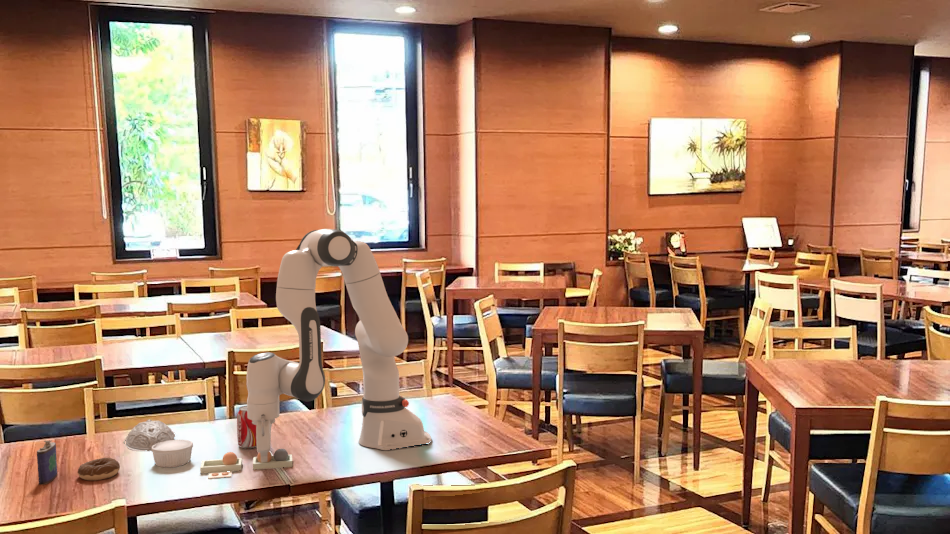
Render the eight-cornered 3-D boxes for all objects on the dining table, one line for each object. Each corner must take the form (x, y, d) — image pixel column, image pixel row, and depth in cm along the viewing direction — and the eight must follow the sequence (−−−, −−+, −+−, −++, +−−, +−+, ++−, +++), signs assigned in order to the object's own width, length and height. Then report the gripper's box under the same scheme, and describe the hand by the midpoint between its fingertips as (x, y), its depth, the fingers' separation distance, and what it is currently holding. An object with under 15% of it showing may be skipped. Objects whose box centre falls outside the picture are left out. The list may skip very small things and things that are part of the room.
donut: (117, 480, 222) (117, 466, 221) (74, 484, 219) (74, 469, 218) (122, 468, 232) (122, 454, 232) (81, 471, 229) (81, 457, 229)
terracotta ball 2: (271, 461, 236) (271, 447, 236) (271, 465, 232) (271, 451, 232) (257, 462, 235) (257, 448, 235) (257, 466, 231) (256, 452, 231)
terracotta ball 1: (237, 463, 234) (237, 449, 233) (237, 467, 230) (236, 454, 230) (223, 464, 233) (222, 450, 232) (222, 469, 229) (221, 455, 229)
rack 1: (242, 463, 235) (241, 457, 235) (241, 470, 229) (240, 464, 229) (202, 466, 233) (202, 460, 232) (200, 473, 227) (200, 467, 226)
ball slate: (288, 459, 237) (287, 446, 237) (288, 464, 233) (288, 450, 233) (273, 460, 236) (273, 447, 236) (273, 465, 232) (273, 451, 232)
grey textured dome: (174, 426, 273) (171, 406, 272) (179, 451, 250) (176, 430, 249) (124, 436, 267) (121, 416, 266) (124, 462, 244) (121, 441, 243)
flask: (49, 473, 227) (47, 435, 226) (60, 473, 227) (59, 435, 226) (36, 485, 217) (34, 445, 217) (48, 484, 218) (46, 445, 217)
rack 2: (292, 460, 238) (291, 454, 238) (292, 466, 232) (292, 461, 232) (253, 462, 236) (253, 457, 236) (252, 469, 230) (252, 463, 230)
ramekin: (151, 459, 239) (150, 441, 239) (191, 454, 244) (191, 437, 243) (152, 471, 229) (152, 452, 229) (194, 466, 233) (194, 448, 233)
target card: (231, 472, 228) (231, 470, 228) (231, 477, 224) (231, 475, 224) (209, 474, 226) (209, 472, 226) (208, 478, 222) (208, 477, 222)
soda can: (254, 450, 248) (254, 411, 247) (233, 448, 249) (232, 410, 248) (265, 443, 255) (264, 405, 254) (244, 442, 256) (243, 404, 255)
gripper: (274, 419, 223) (275, 469, 224) (274, 401, 243) (275, 447, 244) (250, 421, 221) (251, 471, 223) (252, 402, 241) (253, 448, 242)
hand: (264, 458), depth 233 cm, fingers closed on terracotta ball 2, 4 cm apart
